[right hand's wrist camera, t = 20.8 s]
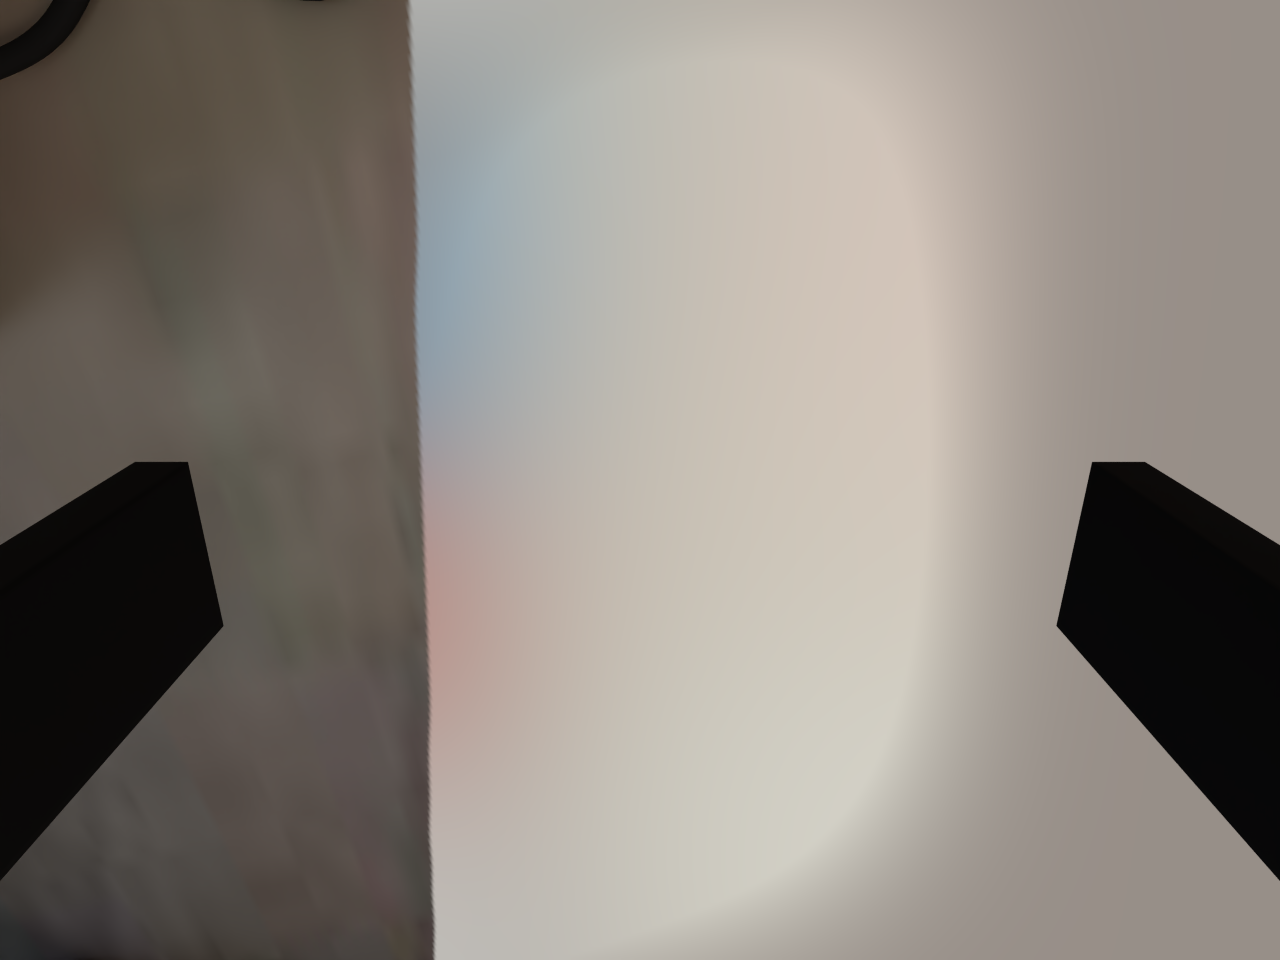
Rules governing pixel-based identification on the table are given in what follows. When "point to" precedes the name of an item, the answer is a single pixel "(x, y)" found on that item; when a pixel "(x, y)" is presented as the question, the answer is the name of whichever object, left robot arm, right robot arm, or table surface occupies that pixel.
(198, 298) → the table surface
